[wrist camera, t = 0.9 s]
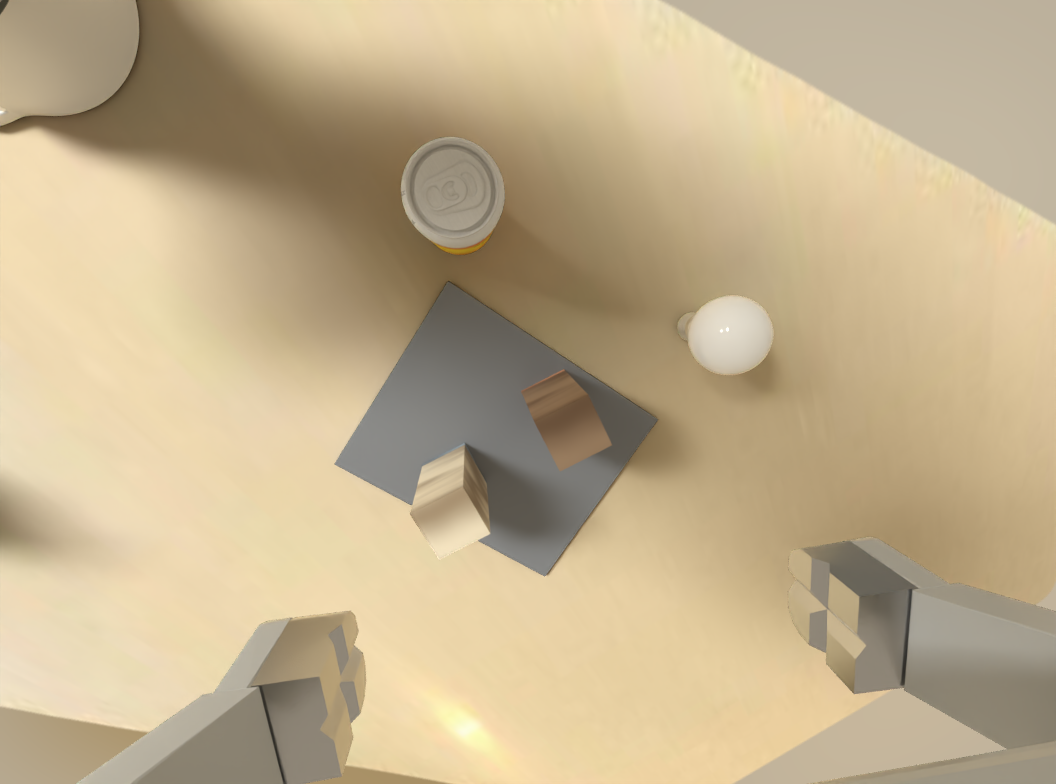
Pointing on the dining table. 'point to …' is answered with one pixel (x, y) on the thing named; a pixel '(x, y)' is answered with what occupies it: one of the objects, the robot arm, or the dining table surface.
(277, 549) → the dining table surface
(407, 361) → the rubber mat
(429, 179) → the beer can
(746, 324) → the lightbulb
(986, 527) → the dining table surface
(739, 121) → the dining table surface
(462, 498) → the maple block
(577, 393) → the walnut block
